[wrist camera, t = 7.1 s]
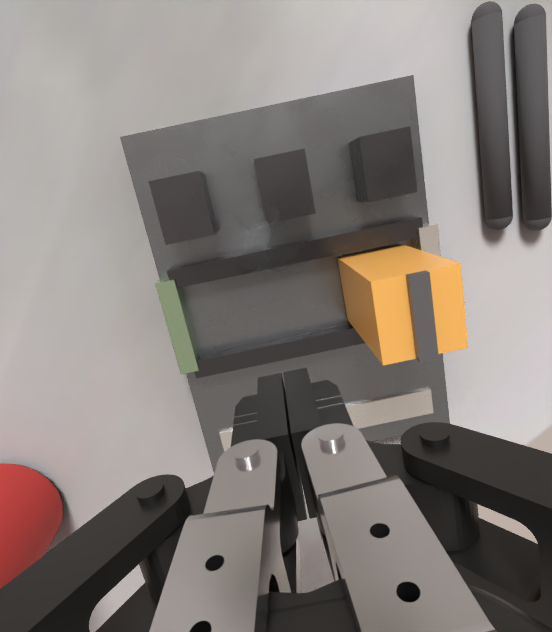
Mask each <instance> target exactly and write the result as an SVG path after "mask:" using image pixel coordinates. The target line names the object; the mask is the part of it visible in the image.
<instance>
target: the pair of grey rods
mask: <svg viewBox="0 0 552 632" xmlns="http://www.w3.org/2000/svg"><path fill="white" fill-rule="evenodd" d="M471 25H472V39H473V54H474V68H475V82H476V96H477V111H478V125H479V139H480V153H481V168H482V182H483V196H484V210H485V221H486V224H487V225H488V226H489V227H490V228H492V229H495V230H500V229H503V228H505V227H507V226H508V225H509V224H510V223H511V221H512V218H513V210H512V191H511V172H510V153H509V134H508V116H507V97H506V78H505V59H504V40H503V21H502V10H501V7H500V6H499V5H498V4H497V3H495V2H485V3H483V4H481V5H480V6H479V7H478V8H477V9H476V10H475V12H474V14H473V16H472V20H471ZM514 37H515V58H516V80H517V101H518V122H519V144H520V165H521V186H522V208H523V222H524V225H525V226H526V227H527V228H528V229H530V230H541V229H544V228H545V227H547V226H548V225H549V223H550V221H551V218H552V211H551V177H550V143H549V109H548V74H547V40H546V13H545V10H544V8H543V7H542V6H541V5H538V4H530V5H527V6H525V7H524V8H522V9H521V10H520V11H519V13H518V14H517V16H516V18H515V21H514Z"/></svg>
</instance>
